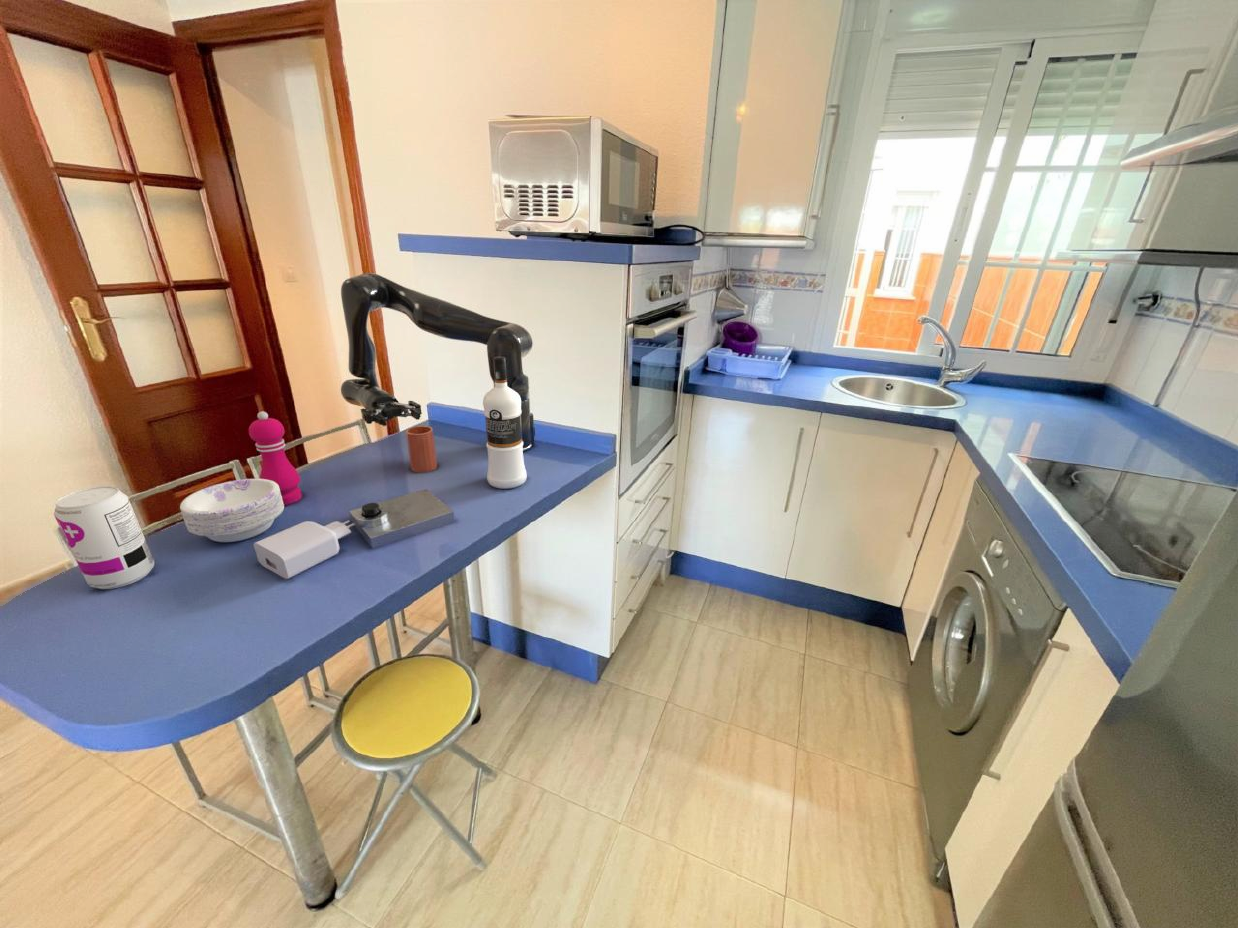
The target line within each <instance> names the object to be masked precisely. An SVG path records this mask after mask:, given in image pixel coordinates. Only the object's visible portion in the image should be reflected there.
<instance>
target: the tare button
mask: <svg viewBox="0 0 1238 928" xmlns="http://www.w3.org/2000/svg"><path fill="white" fill-rule="evenodd" d="M377 503H378V502H370V503H369V502H368V503H365V504H364V505H362V506H361V508H362V512H363V516H364V517H366V518H368V517H374V516H377V515H379V514H380V509H379V505H378V504H377Z"/></svg>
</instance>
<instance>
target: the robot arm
mask: <svg viewBox="0 0 1238 928" xmlns="http://www.w3.org/2000/svg"><path fill="white" fill-rule="evenodd" d="M340 286H341V287H340V298H341V305H342V310H343V316H344V321H345V327H346V332H347V340H348V372H349V373H350V374H351V375H352V376H353V377H356V378H351V379H346V380H344V381H343V382H342V383H341V386H340V394H341V397H342V398H343V399H344V400H345V401H346V403H348V404H350V405H354V406H358V407H362V408H361V409H360V413H361V414H360V415H361V419H362V420H363V421H364V422H365V423H366V425H367V424H368V425H371V424H373V423H375V424H378V425H379V426H382V427H387V422H388V421H390V420H392V419H394V418H398V417H399V418H407V417H412V418H413V419H415V420H416V421H417V420H418V421H419V420H420V419H421V417H422V416H421V415H422V414H423V413H422V412H423V411H422V405H421V404H419V403H418V402H416V401H414V400H408V401H407V402H408V403H401V402H400V401H398V399H397V398H396V397H395V396H393V395H392V394H390V393H389V392H388V391H386V390H384V389H381V387H380V384H379V381H378V377H377V372H376V364H377V349H376V346H375V343H374V341H373V339H372V337H371V335H370V333H369V331H368V320H369V314H370V313H371V312H373V311H377V310H379V309H383V308H385V309H388V310H393V311H396V312H398V313H402V314H404V315H405V316H406V317H408V318H409V320H410V321H411V322H412V323H413V324H414V325H415V326H416V327H417V328H418V329H420V330H422V331H424V332H426V333H429V334H432V335H434V336H437V337H440V338H443V339H449V340H453V341H462V342H471V343H478V344H482V345H484V346H486V355H487V363H488V370H489V375H490V379H491V381H492V383H493V388H494V387H495V374H494V360H493V358H494V357H505V360H506V361H505V363H506V377H507V386H508V387H509V388H511V389H512V390H514V391H515V392H517V393H518V394H519V396H520V398H521V411H522V412H521V428H522V441H523V452H527V451H529V450H530V449H532V448H533V447H535V446H536V445H535V436H536V427H535V424H534V414H533V413H532V412H531V401H530V380H529V376H528V375H527V374H525V373H524V369H523V358H525V357H526V356H527V355H528V354H529V353H530V352H531V351H532V349H533V345H534V343H533V338H532V335H531V334H530V332H529V331H528V330H527V329H526V328H525V327H524V326H522V325H520V324H518V323H513V322H508V321H505V320H504V321H503V320H500V319H497V318H496V319H495V318H492V317H488V316H485V315H482V314H480V313H478V312H475V311H472V310H470V309H467V308H465V307H463V306H460V305H457V304H454V303H451V302H450V301H446V300H444V299H441V298H438V297H435V296H431V295H428V294H425V293H423V292H420V291H417V290H414V289H410V288H408V287H405V286H403V285H401V284H399V283H397V282H395V281H392V280H391V279H389V278H386V277H384V276H382V275H380V274H377V273H373V272H365V273H361V274H358V275H355V276H351V277H349V278H347V279H345V280H344V281H343V282H342V283H341V285H340Z"/></svg>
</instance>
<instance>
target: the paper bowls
mask: <svg viewBox="0 0 1238 928" xmlns="http://www.w3.org/2000/svg"><path fill="white" fill-rule="evenodd" d="M284 509H285V505H284V504H283V500H282V496H281V492H280V489H279V486H278V484H277V483H275V482H274V481H271V480H266V479H260V478H244V479H243V478H242V479H236V480H229V481H225V482H221V483H217V484H213V485H209V486H207V487H205V488H202V489H199V490H197V491H195V492H193V493H191V494H190V495H188V496H187V497H185V498H184V499H183V500H182V501H181V502H180V505H179V510H180V513H181V515H182V519H183V522H184V524H185V527H186V529H187V531H188V532H189V533H191V534H192V535H196V536H199V537H206V538H207V539H210V540H211V541H213V542H218V543H233V542H240V541H245V540H248V539H251V538H253V537H256V536H258V535H259V536H260V534H263V533H264V532H266V531H268V530H269V528H271V527H272V525H273V523H274V520H275V519H276V518H278V517H279V516H280V515H282V514H283V512H284Z"/></svg>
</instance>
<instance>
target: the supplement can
mask: <svg viewBox="0 0 1238 928" xmlns="http://www.w3.org/2000/svg"><path fill="white" fill-rule="evenodd" d="M53 516H54V518H55V520H56V523H57V525H58V526H59V528H60V530H61V532H62V535H63V537H64V539H65V540H66V542H67V544H68V547H69V549H70V551H71V553H72V555H73V557H74V559H75V561H76V563H77V565H78V568H79V570H80V572H81V573H82V576H83V577H84V579H85V582H86V584H87V585H88V586H89V587H91V588H95V589H100V590H112V589H118V588H122V587H126V586H128V585H131V584H133V583H136V582H138V581H140V580H142V579H143V578H145V577H146V576H148V574H150V572H151V571H152V569H153V568H154V567H155V560H154V557H153V555H152V552H151V550H150V547H149V545H148V543H147V541H146V538H145V536H144V533H143V530H142V528H141V526H140V523H139V521H138V518H137V516H136V514H135V512H134V508H133V506H132V504H131V502H130V499H129V496H128V495H126V494H125V493H124V492H122V491H120V489H119V488H118V487H116V486H110V485H107V486H102V485H101V486H95V487H90V488H85V489H81V490H80V489H79V490H77V491H74V492H70V493H68V494H66V495H64V496H62V497H60V498H59V499H57V500H56V502H55V508H54V511H53Z"/></svg>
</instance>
